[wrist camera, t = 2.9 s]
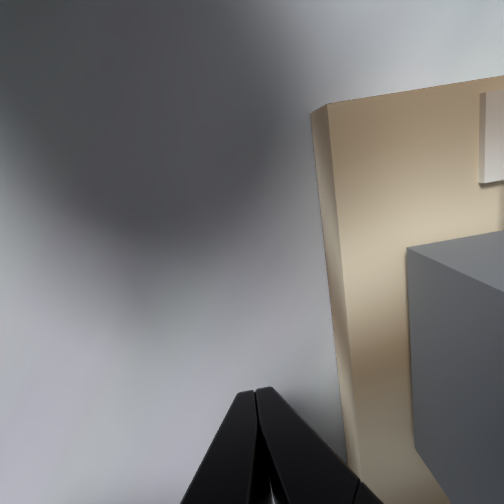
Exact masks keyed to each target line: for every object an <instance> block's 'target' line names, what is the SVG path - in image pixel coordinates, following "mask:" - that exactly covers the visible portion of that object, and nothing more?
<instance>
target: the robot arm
mask: <svg viewBox="0 0 504 504" xmlns="http://www.w3.org/2000/svg"><path fill="white" fill-rule="evenodd" d="M270 483H271V484H270ZM271 488H272V492H271ZM272 493H273V498H274V502H275V504H384V503H383V502H382V501H381V500H380V499H379V498H378V497H377V496H376V495H375V494H374V493H373V492H372V491H371V490H370V489H369V487H368V486H367V485H366V484H365V483H364V482H361V480H360V478H359V477H358V476H357V475H356V474H355V473H354V472H353V471H352V470H351V469H350V468H349V467H348V466H347V465H346V464H345V463H344V462H343V460H342V459H341V458H340V457H339V456H338V455H337V454H336V453H335V452H334V451H333V450H332V449H331V448H330V447H329V446H328V445H327V444H326V443H325V442H324V441H323V439H322V438H321V437H320V436H319V435H318V434H317V433H316V432H315V431H314V430H313V429H312V428H311V427H310V426H309V425H308V424H307V423H306V422H305V421H304V420H303V419H302V417H301V416H300V415H299V414H298V413H297V412H296V411H295V410H294V409H293V408H292V407H291V406H290V405H289V404H288V403H287V402H286V401H285V400H284V399H283V398H282V397H281V395H280V394H279V393H278V392H277V391H276V390H275V389H274V388H273V387H264V388H259V389H257V390H256V391H255V392H254V391H253V390H249V391H244V392H239V393H238V394H237V395H236V397H235V399H234V401H233V403H232V404H231V406H230V408H229V410H228V412H227V414H226V416H225V418H224V420H223V422H222V424H221V426H220V428H219V430H218V431H217V433H216V435H215V437H214V439H213V441H212V443H211V445H210V447H209V449H208V451H207V453H206V455H205V457H204V458H203V460H202V462H201V464H200V466H199V468H198V470H197V472H196V474H195V476H194V478H193V480H192V482H191V484H190V485H189V487H188V489H187V491H186V493H185V495H184V497H183V499H182V501H181V503H180V504H272Z"/></svg>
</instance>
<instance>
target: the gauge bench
mask: <svg viewBox="0 0 504 504" xmlns="http://www.w3.org/2000/svg"><path fill="white" fill-rule="evenodd" d="M310 116H311V125H312V134H313V144H314V153H315V162H316V172H317V181H318V191H319V200H320V209H321V219H322V228H323V237H324V247H325V256H326V265H327V275H328V284H329V293H330V303H331V312H332V322H333V331H334V340H335V350H336V359H337V368H338V378H339V387H340V396H341V406H342V415H343V425H344V434H345V443H346V453H347V462H348V467H349V468H350V469H351V470H352V471H353V472H354V473H355V474H356V475H357V476H358V477H359V478H360V480H361V482H364V483H365V484H366V485H367V486H368V487H369V489H370V490H371V491H372V492H373V493H374V494H375V495H376V496H377V497H378V498H379V499H380V500H381V501H382V502H383V503H384V504H452V503H451V502H450V500H449V499H448V497H447V496H446V494H445V493H444V491H443V490H442V488H441V487H440V485H439V484H438V482H437V481H436V479H435V478H434V476H433V475H432V473H431V472H430V470H429V469H428V467H427V466H426V464H425V463H424V461H423V460H422V458H421V457H420V455H419V454H418V452H417V451H416V449H415V445H414V420H413V396H412V372H411V348H410V323H409V299H408V275H407V251H406V247H412V246H417V245H423V244H429V243H434V242H440V241H445V240H451V239H457V238H462V237H468V236H474V235H479V234H485V233H490V232H496V231H502V230H504V75H503V76H497V77H491V78H484V79H478V80H472V81H466V82H460V83H453V84H447V85H441V86H435V87H428V88H422V89H416V90H410V91H404V92H397V93H391V94H385V95H379V96H373V97H366V98H360V99H354V100H348V101H341V102H335V103H329V104H326V105H324V106H322V107H321V108H319V109H317V110H316V111H314V112H312V113H311V114H310Z"/></svg>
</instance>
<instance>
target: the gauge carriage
mask: <svg viewBox="0 0 504 504" xmlns="http://www.w3.org/2000/svg"><path fill="white" fill-rule="evenodd" d="M406 251H407V275H408V299H409V323H410V348H411V372H412V396H413V420H414V445H415V449H416V451H417V452H418V454H419V455H420V457H421V458H422V460H423V461H424V463H425V464H426V466H427V467H428V469H429V470H430V472H431V473H432V475H433V476H434V478H435V479H436V481H437V482H438V484H439V485H440V487H441V488H442V490H443V491H444V493H445V494H446V496H447V497H448V499H449V500H450V502H451V503H452V504H504V230H502V231H496V232H490V233H485V234H479V235H474V236H468V237H462V238H457V239H451V240H445V241H440V242H434V243H429V244H423V245H417V246H412V247H406Z"/></svg>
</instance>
